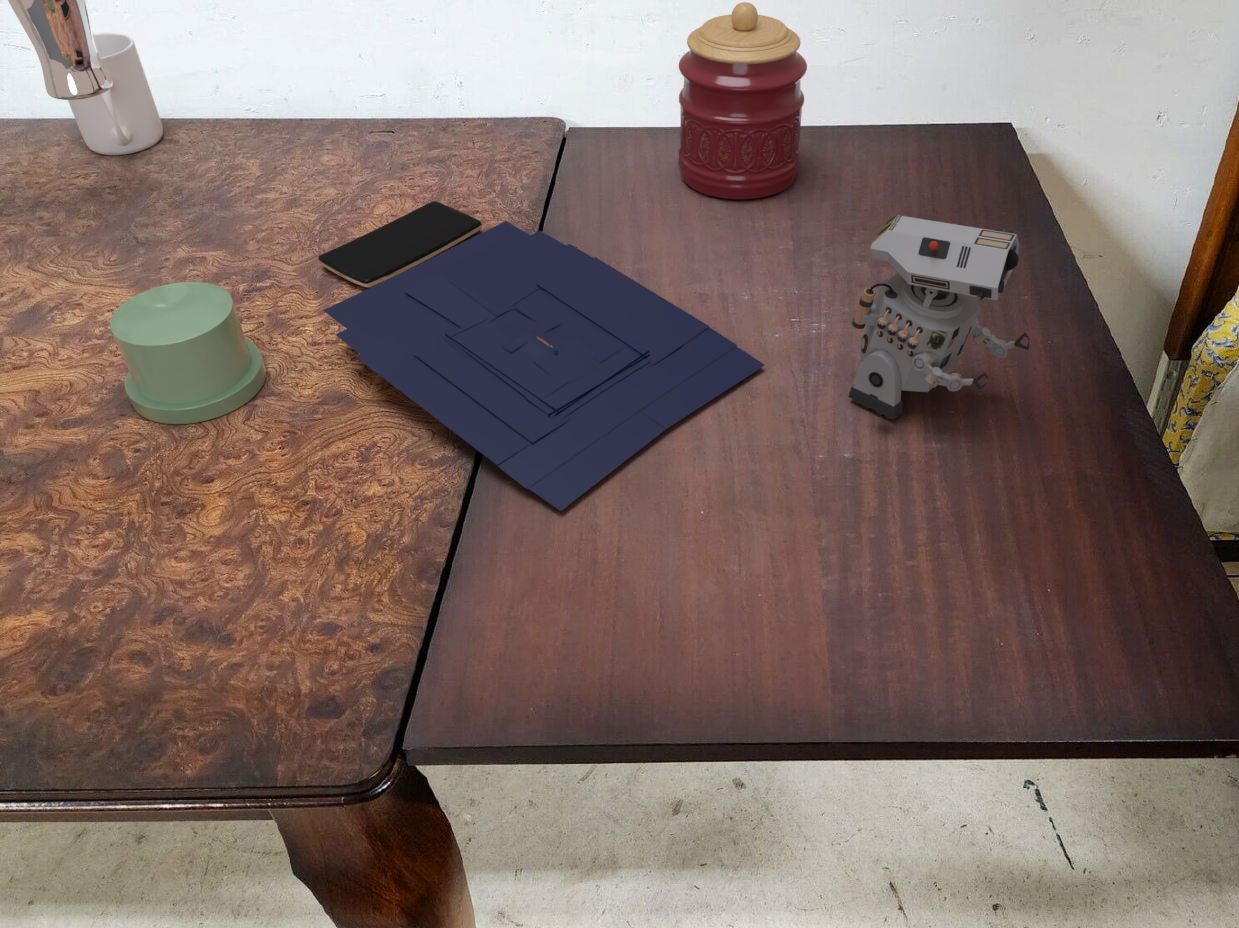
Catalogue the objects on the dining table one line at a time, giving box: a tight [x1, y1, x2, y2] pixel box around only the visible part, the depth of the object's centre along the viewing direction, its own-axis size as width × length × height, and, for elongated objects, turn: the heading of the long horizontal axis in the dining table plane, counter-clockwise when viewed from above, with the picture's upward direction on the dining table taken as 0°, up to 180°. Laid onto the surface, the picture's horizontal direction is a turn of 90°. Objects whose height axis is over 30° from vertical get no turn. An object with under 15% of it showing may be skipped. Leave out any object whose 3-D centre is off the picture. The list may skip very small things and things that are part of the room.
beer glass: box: [7, 0, 113, 101], centre depth 101 cm, size 7×7×15 cm
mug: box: [67, 32, 164, 156], centre depth 119 cm, size 9×12×11 cm
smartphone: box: [318, 200, 483, 288], centre depth 104 cm, size 7×1×15 cm
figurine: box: [848, 214, 1031, 420], centre depth 81 cm, size 9×12×15 cm
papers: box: [322, 220, 766, 512], centre depth 89 cm, size 24×30×4 cm
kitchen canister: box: [678, 1, 808, 200], centre depth 109 cm, size 13×13×18 cm
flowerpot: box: [109, 281, 267, 425], centre depth 86 cm, size 11×11×7 cm
